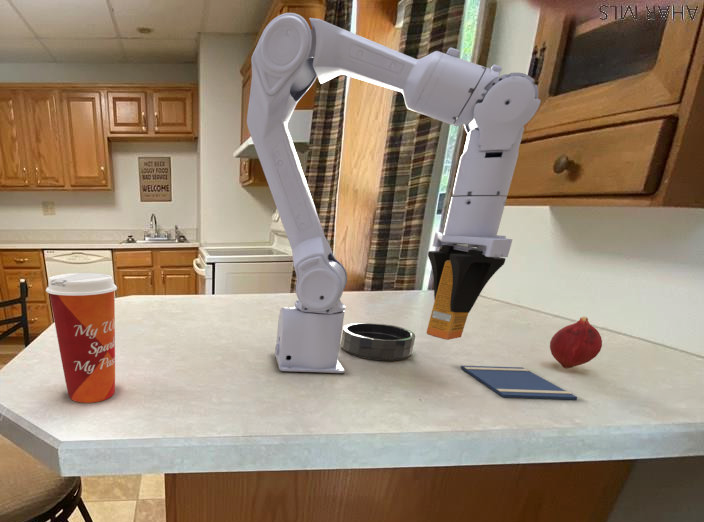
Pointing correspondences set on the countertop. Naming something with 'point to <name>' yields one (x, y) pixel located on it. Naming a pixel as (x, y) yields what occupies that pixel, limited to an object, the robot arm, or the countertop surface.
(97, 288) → the coffee cup
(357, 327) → the pan
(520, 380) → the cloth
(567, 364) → the onion
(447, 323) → the supplement box
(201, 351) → the countertop surface
